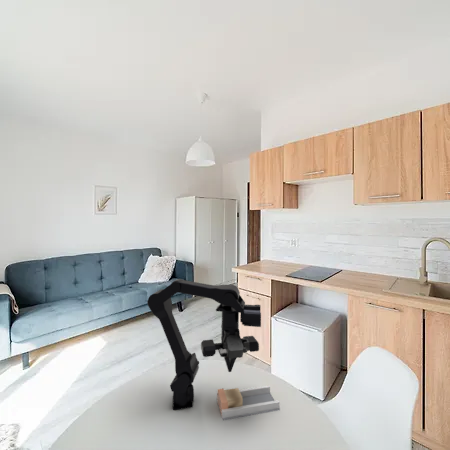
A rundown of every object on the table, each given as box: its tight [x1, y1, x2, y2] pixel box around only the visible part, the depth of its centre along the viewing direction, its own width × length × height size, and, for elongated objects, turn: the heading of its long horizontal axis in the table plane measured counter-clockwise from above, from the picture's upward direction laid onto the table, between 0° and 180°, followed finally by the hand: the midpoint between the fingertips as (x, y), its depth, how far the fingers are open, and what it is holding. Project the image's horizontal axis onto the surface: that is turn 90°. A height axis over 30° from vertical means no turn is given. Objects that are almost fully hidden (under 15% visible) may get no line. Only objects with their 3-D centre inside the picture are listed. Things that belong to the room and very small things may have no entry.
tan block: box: [224, 387, 243, 408], centre depth 79 cm, size 5×5×4 cm
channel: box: [216, 384, 281, 421], centre depth 80 cm, size 19×10×5 cm, turn 103°
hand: (229, 371), depth 80 cm, fingers closed
